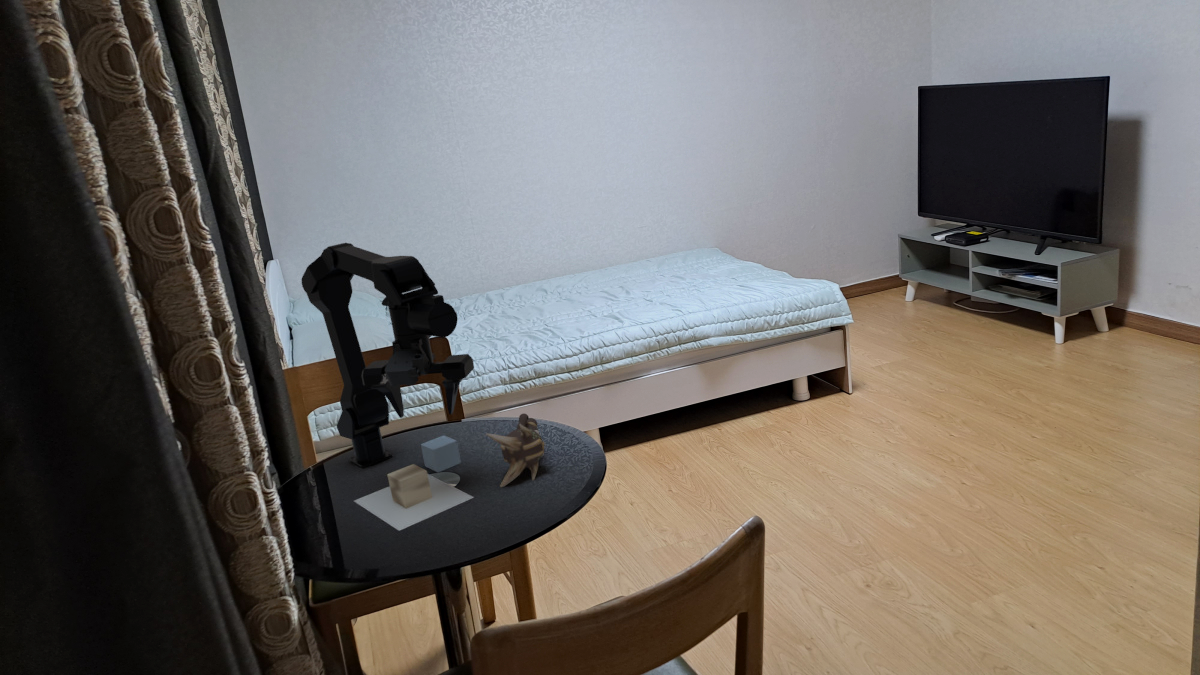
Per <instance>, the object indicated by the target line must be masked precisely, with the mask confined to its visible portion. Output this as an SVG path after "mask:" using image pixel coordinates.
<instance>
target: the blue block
mask: <svg viewBox="0 0 1200 675" xmlns="http://www.w3.org/2000/svg"><path fill="white" fill-rule="evenodd" d="M420 448H421V454H422V457H423V458H422V459H423V462H424V463H423V464H424V466H425V468H428V469H430V470H432V471H434V472H436V473H440V472H443V471H445V470H448V469H450V468H452V467H455V466H458V465H460V464H461V463H462V460H461V455H460V451H459V444H458V441H457V440H456V439H453V438H451V437H448V436H447V435H444V434H443V435H441V436H439V437H436V438H434V439H430V440H428V441H426V442H423V443H421V444H420Z"/></svg>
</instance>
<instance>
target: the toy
mask: <svg viewBox="0 0 1200 675" xmlns="http://www.w3.org/2000/svg"><path fill="white" fill-rule="evenodd" d="M485 435H486V436H487V437H489V438H490V439H492V440H493V441H495V442H497V444H500V448H501V453H502V457H503V461H504V462H505V463H507V464H509V466H508V470H507V472H506V473H505V475H504V477H503V480H502V481H501V483H500V484H499V487H500V488H504V487H506V486H507V485H508V484H510V483H511V482H513V481H514V480H515V479H516V478H517V477H518V476H520V475H521V473H522V472H523V471H524V470H525V469H526V468H527V469H529V470H530V473H531V481H535V480H536V479H535V478H536V476H537V472H538V470H539V461H540V460H541V458H542V457H544V456H545V444H546V443H545V441H543V438H542V435H541V434H540V431H539V429H538V421H537V420H536V419H535V418H533V417H529V415H528V414H527V413H521V414H520V415H519V416H518V423H517V425H516V429H513V430H512V431H510V432H509V433H508V434H507V435H506V436H505V435H498V434H493V433H485Z"/></svg>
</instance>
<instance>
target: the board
mask: <svg viewBox="0 0 1200 675" xmlns="http://www.w3.org/2000/svg"><path fill="white" fill-rule="evenodd" d="M427 475H428V480H429V484H430V489H431V494H432V498H430V499H427V500H425V501H423V502H420V503H418V504H416V505H413V506H411V507H409V508H404V507H403V506H401V505H399V504H398V503H396V502H394V501H393V498H392V494H391V489H390V485H389V486H387V487H384V488H382V489H379V490H376V491H374V492H373V493H369V494H367V495H365V496H362V497H360V498H357V499H355V500H353V502H354V503H356V504H357V505H358V506H360V507H362V508H364V509H365V510H367V511H368V512H369V513H371V514H373V515H374V516H376V517H377V518H379V519H380V520H381V521H384V522H385V523H386V524H388V525H389V526H391V527H392V528H394V529H396V530H397V531H399V532H400V531H402V530H404V529H406V528H409V527H411V526H413V525H416V524H418V523H420V522H423V521H425V520H427V519H430V518H431V517H433V516H436V515H438V514H440V513H442V512H445V511H447V510H449V509H451V508H454V507H456V506H458V505H461V504H462V503H463V504H464V503H465V502H467V501H469V500H471V499H474V496H472V495H471V494H468V493H466V492H464V491H462V490H460V489H458V488H457V487H454V486H452V485H451V484H448V483H446V482H445V481H443V480H442V479H441V480H440V479H438V478H437V477H435V476H432V475H431V474H429V473H427Z"/></svg>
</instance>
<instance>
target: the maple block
mask: <svg viewBox="0 0 1200 675" xmlns="http://www.w3.org/2000/svg"><path fill="white" fill-rule="evenodd" d="M427 474H428V470H426V469H424V468H422V467H420V466H418V465H416V464H414V463H412V464H410V465H408V466H405V467H402V468H399V469H397V470H394V471H392V472H389V473H387V474H386V475H387V479H388V485H389V486H390V489H391V494H392V498H393V501H394V502H396V503H398V504H399V505H401V506H403V507H404V508H409V507H411V506H413V505H416V504H418V503H420V502H423V501H425V500H427V499H430V498H432V494H431V489H430V484H429V480H428V475H427Z"/></svg>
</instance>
